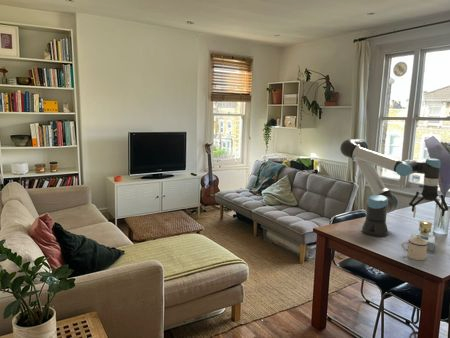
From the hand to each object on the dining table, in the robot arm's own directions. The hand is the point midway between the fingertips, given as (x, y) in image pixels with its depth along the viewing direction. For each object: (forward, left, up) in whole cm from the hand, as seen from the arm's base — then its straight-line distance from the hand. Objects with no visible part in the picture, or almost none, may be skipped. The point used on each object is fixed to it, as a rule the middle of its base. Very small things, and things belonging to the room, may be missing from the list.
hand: (426, 219), depth 202 cm
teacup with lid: (-23, -23, -13) cm, 35 cm away
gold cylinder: (0, 0, -13) cm, 13 cm away
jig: (-8, -9, -13) cm, 17 cm away
